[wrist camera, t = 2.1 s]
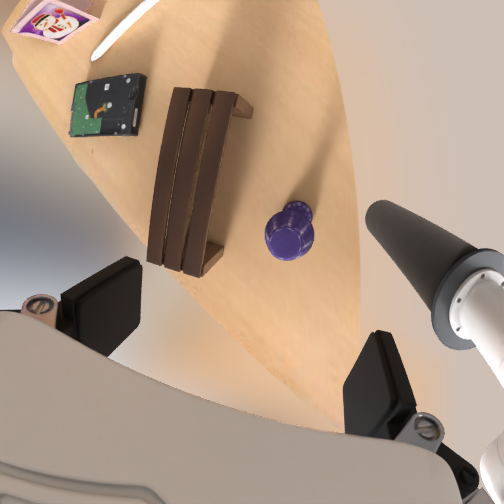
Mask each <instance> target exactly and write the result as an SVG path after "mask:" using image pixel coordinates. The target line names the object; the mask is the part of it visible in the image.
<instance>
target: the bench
mask: <svg viewBox="0 0 504 504" xmlns="http://www.w3.org/2000/svg"><path fill="white" fill-rule="evenodd" d="M188 107H189V108H188ZM187 110H188V112H187ZM209 112H210V113H211V118H210V122H209V127H208V131H207V136H206V141H205V145H204V150H203V155H202V160H201V165H200V171H199V176H198V181H197V187H196V193H195V198H194V204H193V210H192V216H191V223H190V229H189V235H188V237H187V236H186V232H187V225H188V219H189V213H190V206H191V200H192V195H193V189H194V183H195V178H196V172H197V167H198V162H199V157H200V152H201V147H202V142H203V137H204V132H205V128H206V123H207V119H208V114H209ZM252 113H253V107H252V106H251V105H250V104H249V103H247V102H246V101H245V100H244V99H243V98H242V97H241V96H240V95H239V94H236V93H234V92H226V91H213V90H207V89H191V88H181V87H174V89H173V93H172V97H171V102H170V106H169V111H168V115H167V120H166V124H165V129H164V134H163V140H162V145H161V150H160V156H159V162H158V168H157V174H156V180H155V187H154V194H153V202H152V210H151V218H150V227H149V237H148V248H147V260H146V261H147V262H150V263H153V264H156V265H159V266H161V265H162V264H163V265H164V267H165V268H168V269H171V270H175V271H178V272H180V271H181V270H182V271H183V273H184V274H187V275H190V276H194V277H197V278H200V277H203V276H204V275H205V274H206V273H207V272H208V271H209V270H210V269H211V267H212V266H213V265H214V264H215V263H216V262H217V261H218V260H219V259H220V258H221V257H222V255H223V250H224V246H220V245H216V244H213V243H209V242H207V237H208V231H209V225H210V220H211V214H212V209H213V203H214V198H215V193H216V188H217V183H218V178H219V173H220V168H221V163H222V158H223V153H224V148H225V144H226V139H227V135H228V130H229V125H230V121H231V117H232V116H238V117H244V118H249V119H251V117H252ZM186 114H187V117H186ZM185 118H186V121H185ZM184 123H185V126H184ZM183 128H184V131H183ZM182 133H183V136H182ZM181 138H182V141H181ZM180 143H181V146H180ZM179 148H180V151H179ZM178 153H179V156H178ZM177 158H178V162H177ZM176 164H177V167H176ZM175 169H176V173H175ZM174 175H175V179H174ZM173 181H174V185H173ZM172 187H173V191H172ZM171 194H172V198H171ZM170 200H171V204H170ZM169 207H170V211H169ZM168 214H169V219H168ZM167 222H168V226H167ZM166 229H167V234H166ZM165 238H166V239H165Z"/></svg>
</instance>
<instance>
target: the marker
mask: <svg viewBox="0 0 504 504" xmlns="http://www.w3.org/2000/svg"><path fill="white" fill-rule="evenodd" d="M158 1H159V0H144V1H143V2H141V3H140V4H139V5H138V6H137V7H136V8H135V9H134V10H133V11H132V12H131V13H130V14H128V15H127V16H126V17H125V18H124V19H123V20H122V21H121V22H120V23H119V24H118V25H117V26H116V27H115V28H114V29H113V30H112V31H111V32H110V33H109V35H108V36H107V37H106V38H105V39H104V40H103V41H102V42H101V43H100V44H99V45H98V47H97V48H96V49H95V50H94V52H93V54H92V57H91V62H92V61H95V60H97V59H99V58H100V57H101V56H102V55H103V54H104V53H105V52H106V51H107V50H108V49H109V48H110V47H111V46H112V44H113V43H114V42H115V41H116V40H117V39H118V38H119V37H120V36H121V35H122V34H123V33H124V32H125V31H126V30H127V29H128V28H129V27H130V26H131V25H132V24H133V23H134V22H135V21H136V20H138V19H139V18H140V17H141V16H142V15H143V14H144V13H145V12H146V11H147V10H149V9H150V8H151V7H152V6H153V5H154V4H156V3H157V2H158Z"/></svg>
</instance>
